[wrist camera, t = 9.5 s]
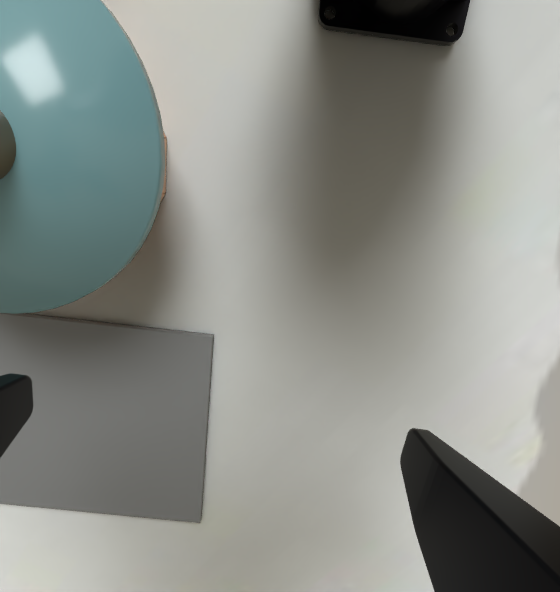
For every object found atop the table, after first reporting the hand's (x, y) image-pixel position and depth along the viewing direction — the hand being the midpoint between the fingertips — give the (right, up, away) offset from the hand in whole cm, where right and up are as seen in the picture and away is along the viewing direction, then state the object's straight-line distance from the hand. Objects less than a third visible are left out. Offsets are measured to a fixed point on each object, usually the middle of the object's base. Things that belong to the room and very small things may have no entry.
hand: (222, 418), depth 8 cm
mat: (-11, -5, +14) cm, 19 cm away
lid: (-9, +9, +5) cm, 14 cm away
